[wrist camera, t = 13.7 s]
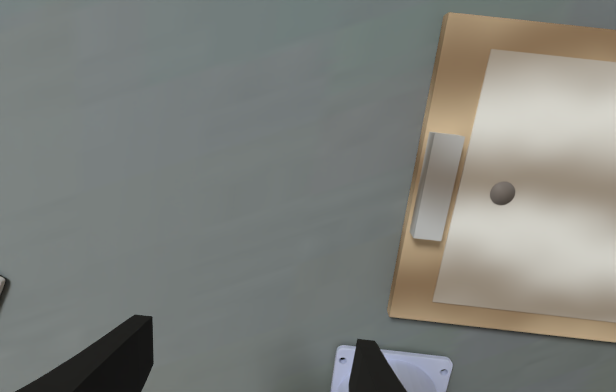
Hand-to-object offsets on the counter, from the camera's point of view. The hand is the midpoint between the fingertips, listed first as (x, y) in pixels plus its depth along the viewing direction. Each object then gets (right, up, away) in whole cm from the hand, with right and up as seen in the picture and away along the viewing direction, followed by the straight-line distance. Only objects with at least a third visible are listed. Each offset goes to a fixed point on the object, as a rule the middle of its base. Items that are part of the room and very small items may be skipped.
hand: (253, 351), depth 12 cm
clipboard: (+20, +5, +9) cm, 22 cm away
